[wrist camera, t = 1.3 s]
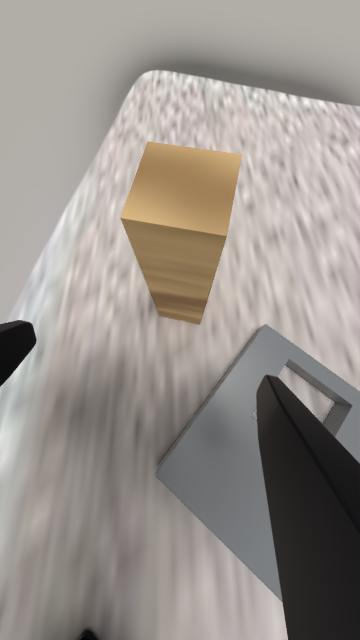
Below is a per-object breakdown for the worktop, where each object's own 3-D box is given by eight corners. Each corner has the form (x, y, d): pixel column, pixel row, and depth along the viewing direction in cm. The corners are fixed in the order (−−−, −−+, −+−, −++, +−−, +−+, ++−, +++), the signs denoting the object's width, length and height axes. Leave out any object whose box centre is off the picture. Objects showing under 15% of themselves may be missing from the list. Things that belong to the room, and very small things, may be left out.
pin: (199, 324, 22) (226, 236, 8) (159, 316, 22) (120, 217, 8) (207, 286, 23) (241, 154, 9) (168, 279, 23) (147, 141, 10)
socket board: (284, 588, 16) (298, 618, 14) (158, 464, 18) (155, 475, 16) (376, 415, 19) (398, 419, 17) (258, 328, 21) (265, 324, 19)
